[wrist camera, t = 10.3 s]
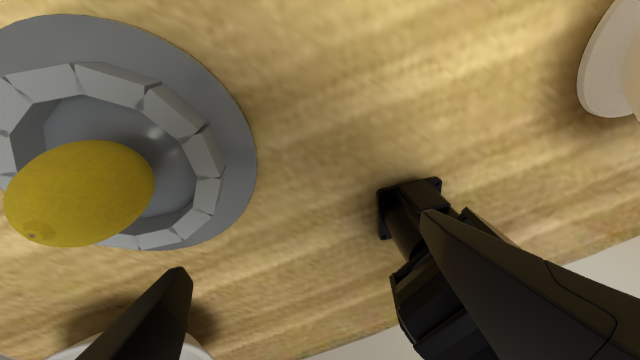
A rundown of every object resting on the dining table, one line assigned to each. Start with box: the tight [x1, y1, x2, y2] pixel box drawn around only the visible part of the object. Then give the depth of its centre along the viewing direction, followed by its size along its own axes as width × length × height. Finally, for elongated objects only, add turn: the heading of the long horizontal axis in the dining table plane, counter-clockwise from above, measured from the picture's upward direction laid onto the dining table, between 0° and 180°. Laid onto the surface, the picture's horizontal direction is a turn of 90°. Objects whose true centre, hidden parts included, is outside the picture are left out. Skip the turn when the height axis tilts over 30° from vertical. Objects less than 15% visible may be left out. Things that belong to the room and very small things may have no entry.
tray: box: [0, 14, 257, 251], centre depth 17 cm, size 18×18×3 cm
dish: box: [43, 331, 214, 360], centre depth 26 cm, size 18×14×5 cm
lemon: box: [3, 139, 155, 248], centre depth 14 cm, size 6×6×8 cm
